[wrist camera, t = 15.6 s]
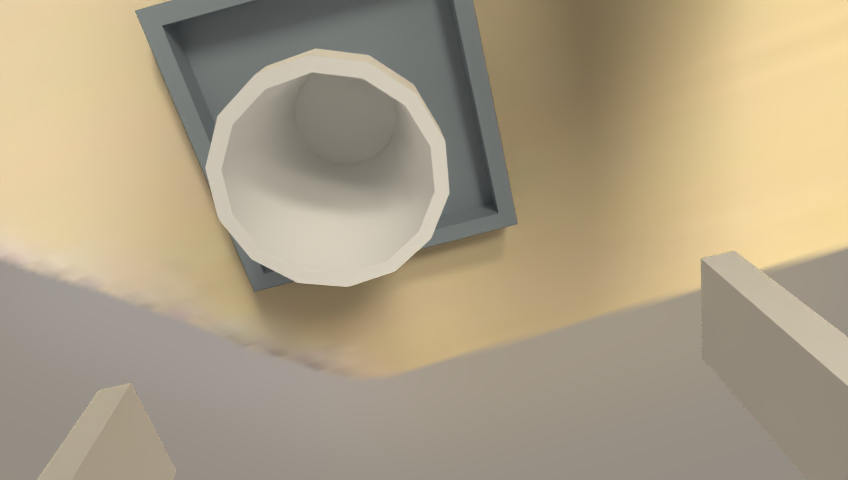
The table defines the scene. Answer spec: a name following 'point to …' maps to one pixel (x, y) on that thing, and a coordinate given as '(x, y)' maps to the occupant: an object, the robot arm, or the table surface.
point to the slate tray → (354, 33)
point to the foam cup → (328, 168)
